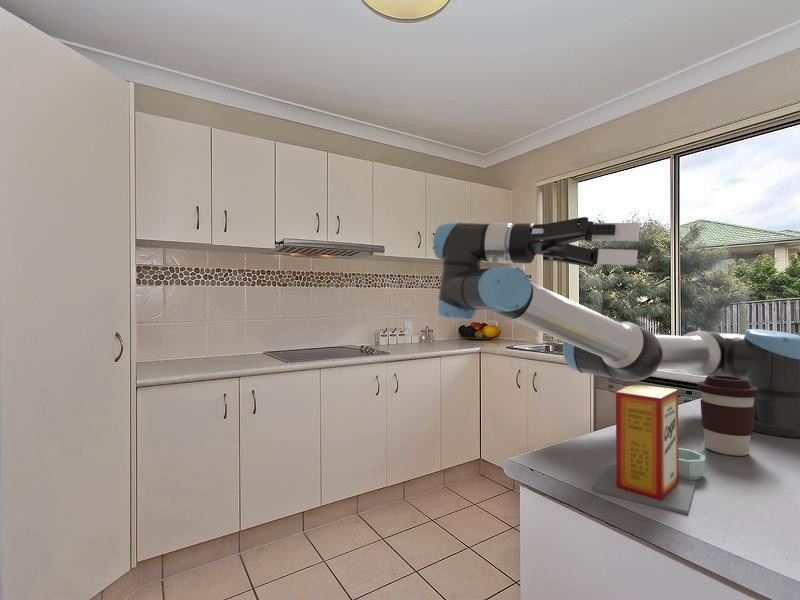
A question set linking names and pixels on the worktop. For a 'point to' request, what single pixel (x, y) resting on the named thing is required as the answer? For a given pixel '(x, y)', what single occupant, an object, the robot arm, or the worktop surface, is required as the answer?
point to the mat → (673, 501)
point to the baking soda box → (647, 440)
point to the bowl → (691, 464)
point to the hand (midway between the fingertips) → (638, 246)
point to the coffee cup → (727, 413)
